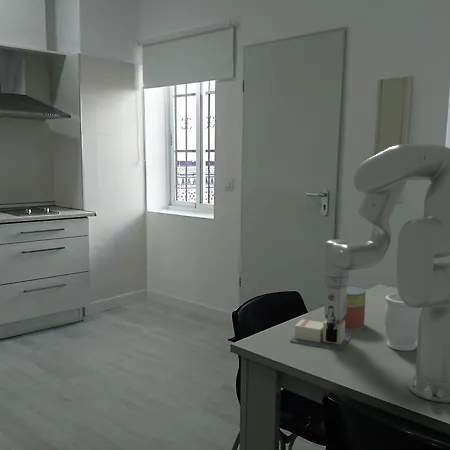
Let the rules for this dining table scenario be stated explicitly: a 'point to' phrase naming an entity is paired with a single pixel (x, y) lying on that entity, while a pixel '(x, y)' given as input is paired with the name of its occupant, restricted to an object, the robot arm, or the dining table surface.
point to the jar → (401, 323)
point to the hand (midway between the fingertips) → (333, 337)
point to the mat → (324, 343)
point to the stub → (340, 331)
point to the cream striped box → (309, 330)
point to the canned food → (355, 308)
